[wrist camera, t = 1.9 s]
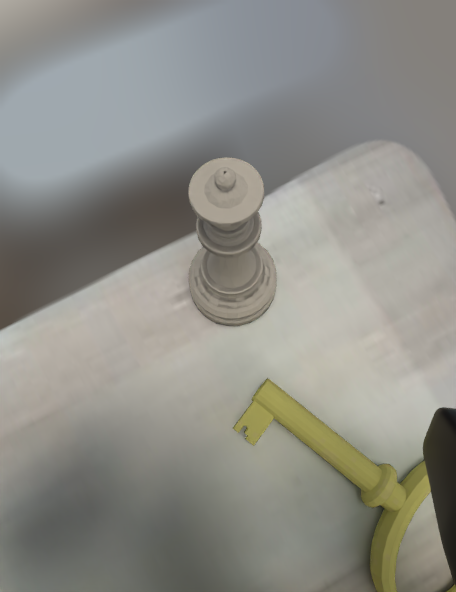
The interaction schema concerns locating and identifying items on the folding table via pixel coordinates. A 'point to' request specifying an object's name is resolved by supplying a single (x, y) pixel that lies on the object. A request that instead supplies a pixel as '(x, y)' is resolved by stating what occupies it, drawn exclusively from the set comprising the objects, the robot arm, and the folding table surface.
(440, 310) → the folding table surface
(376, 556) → the key
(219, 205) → the chess piece
